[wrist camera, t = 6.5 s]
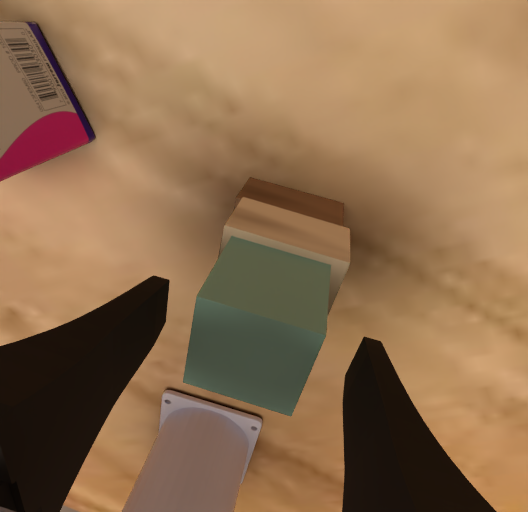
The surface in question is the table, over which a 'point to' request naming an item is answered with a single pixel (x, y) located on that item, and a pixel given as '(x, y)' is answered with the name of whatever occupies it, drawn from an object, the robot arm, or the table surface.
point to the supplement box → (34, 102)
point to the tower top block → (292, 236)
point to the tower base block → (293, 201)
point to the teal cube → (258, 325)
